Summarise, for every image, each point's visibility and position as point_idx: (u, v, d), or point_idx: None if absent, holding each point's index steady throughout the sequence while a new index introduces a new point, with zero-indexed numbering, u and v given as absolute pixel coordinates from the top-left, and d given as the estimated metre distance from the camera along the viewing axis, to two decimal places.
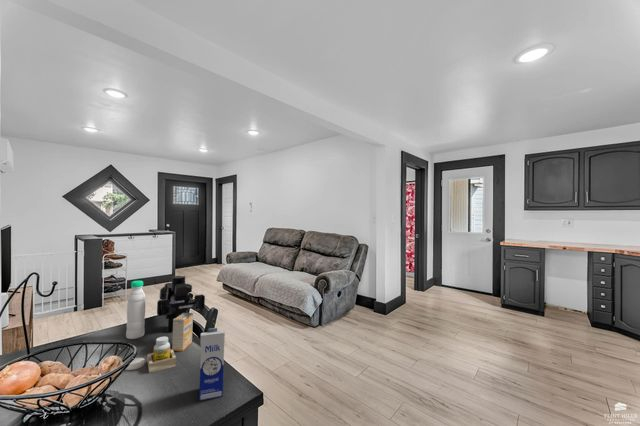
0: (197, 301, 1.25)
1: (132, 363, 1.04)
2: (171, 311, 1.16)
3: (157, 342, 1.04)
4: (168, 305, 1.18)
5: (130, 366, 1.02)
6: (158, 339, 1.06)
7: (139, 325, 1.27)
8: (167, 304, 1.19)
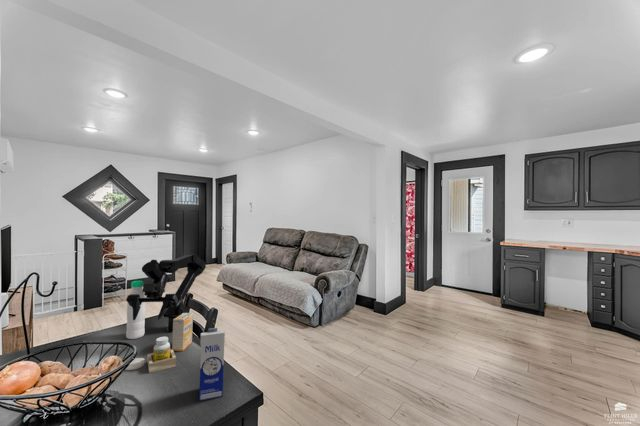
0: (163, 306, 1.18)
1: (132, 363, 1.04)
2: None
3: (157, 342, 1.04)
4: (134, 306, 1.16)
5: (130, 366, 1.02)
6: (158, 339, 1.06)
7: (139, 325, 1.27)
8: (133, 304, 1.16)
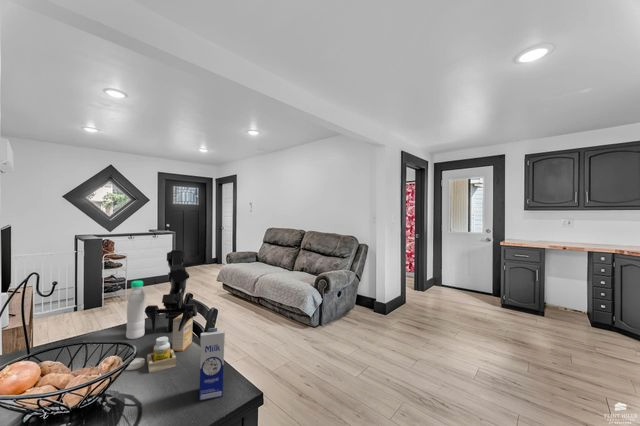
0: (184, 317, 1.13)
1: (132, 363, 1.04)
2: None
3: (157, 342, 1.04)
4: (153, 318, 1.11)
5: (130, 366, 1.02)
6: (158, 339, 1.06)
7: (139, 325, 1.27)
8: (152, 316, 1.12)
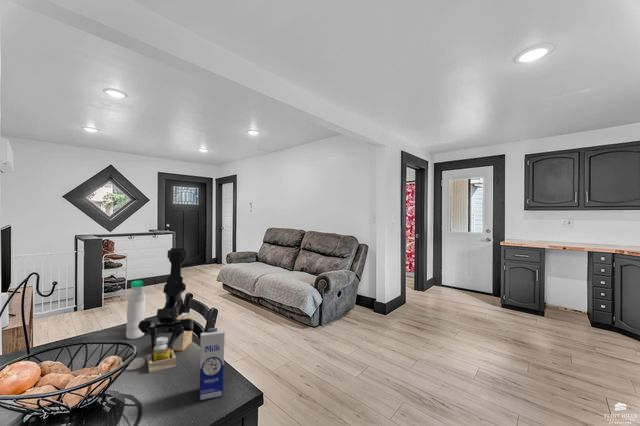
0: (174, 333, 1.08)
1: (132, 363, 1.04)
2: None
3: (157, 342, 1.04)
4: (152, 334, 1.07)
5: (130, 366, 1.02)
6: (158, 339, 1.06)
7: None
8: (151, 331, 1.07)
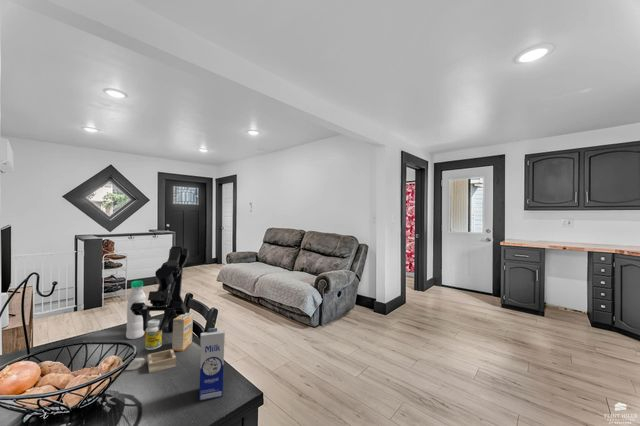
0: (166, 316, 1.08)
1: (132, 363, 1.04)
2: None
3: (149, 324, 1.04)
4: (144, 316, 1.07)
5: (130, 366, 1.02)
6: (150, 321, 1.05)
7: (139, 325, 1.27)
8: (143, 314, 1.07)
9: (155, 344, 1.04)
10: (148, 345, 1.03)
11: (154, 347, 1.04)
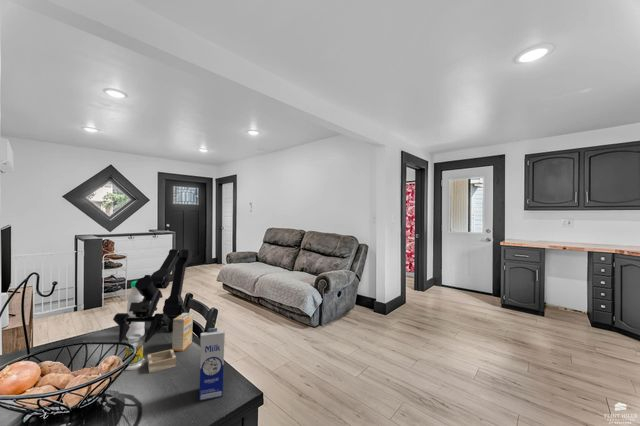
0: (151, 327, 1.06)
1: None
2: None
3: (129, 339, 1.04)
4: (121, 327, 1.06)
5: (130, 366, 1.02)
6: (130, 336, 1.05)
7: (139, 325, 1.27)
8: (120, 325, 1.06)
9: (135, 360, 1.03)
10: None
11: (134, 363, 1.03)
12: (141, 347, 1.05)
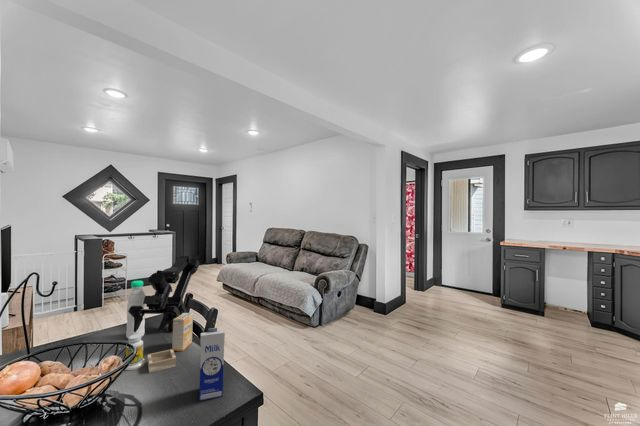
0: (164, 319, 1.16)
1: None
2: None
3: (129, 340, 1.04)
4: (135, 318, 1.15)
5: (130, 366, 1.02)
6: (131, 337, 1.05)
7: None
8: (135, 316, 1.15)
9: (135, 360, 1.03)
10: None
11: (134, 363, 1.03)
12: (141, 347, 1.05)
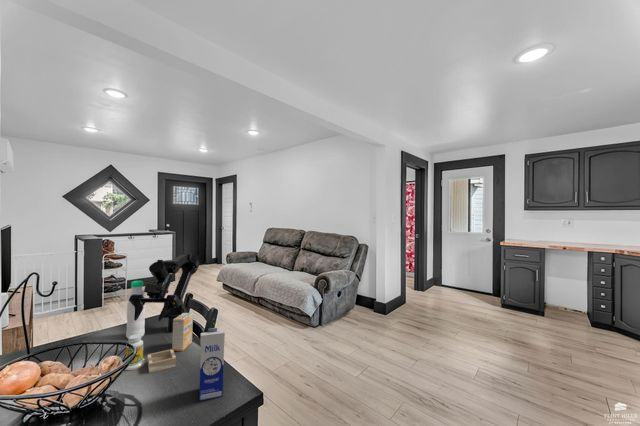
0: (164, 307, 1.16)
1: None
2: None
3: (129, 340, 1.04)
4: (136, 307, 1.15)
5: (130, 366, 1.02)
6: (131, 337, 1.05)
7: (139, 325, 1.27)
8: (135, 305, 1.16)
9: (135, 360, 1.03)
10: None
11: (134, 363, 1.03)
12: (141, 347, 1.05)
